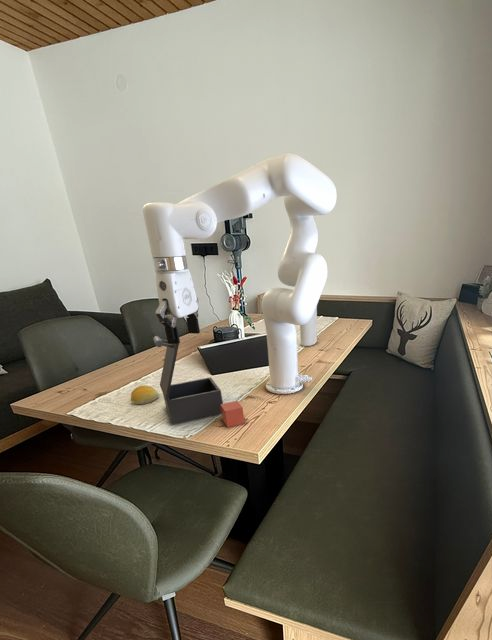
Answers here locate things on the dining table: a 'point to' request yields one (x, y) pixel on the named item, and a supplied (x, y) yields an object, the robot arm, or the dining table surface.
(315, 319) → the paper towel roll
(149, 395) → the bread roll
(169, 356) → the lid
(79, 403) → the dining table surface
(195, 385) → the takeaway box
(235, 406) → the block
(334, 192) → the robot arm
